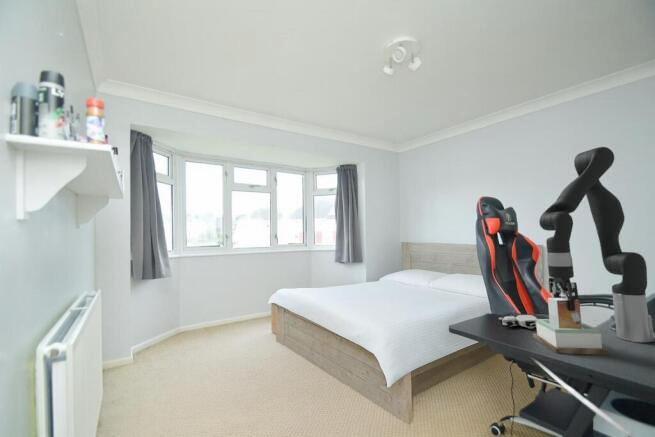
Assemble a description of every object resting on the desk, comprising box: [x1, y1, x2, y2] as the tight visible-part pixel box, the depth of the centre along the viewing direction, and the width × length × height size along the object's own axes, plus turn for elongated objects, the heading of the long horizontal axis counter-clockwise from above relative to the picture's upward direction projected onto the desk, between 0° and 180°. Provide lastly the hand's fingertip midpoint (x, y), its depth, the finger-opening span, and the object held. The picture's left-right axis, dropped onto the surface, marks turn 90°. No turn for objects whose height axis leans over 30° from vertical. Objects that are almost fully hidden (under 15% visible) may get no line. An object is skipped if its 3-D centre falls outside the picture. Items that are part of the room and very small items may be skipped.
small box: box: [547, 297, 582, 329], centre depth 113 cm, size 8×6×10 cm
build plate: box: [532, 333, 610, 356], centre depth 112 cm, size 16×17×2 cm
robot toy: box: [498, 314, 538, 330], centre depth 137 cm, size 12×4×15 cm
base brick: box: [536, 318, 603, 348], centre depth 112 cm, size 14×14×6 cm
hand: (564, 308), depth 113 cm, fingers open, 8 cm apart
